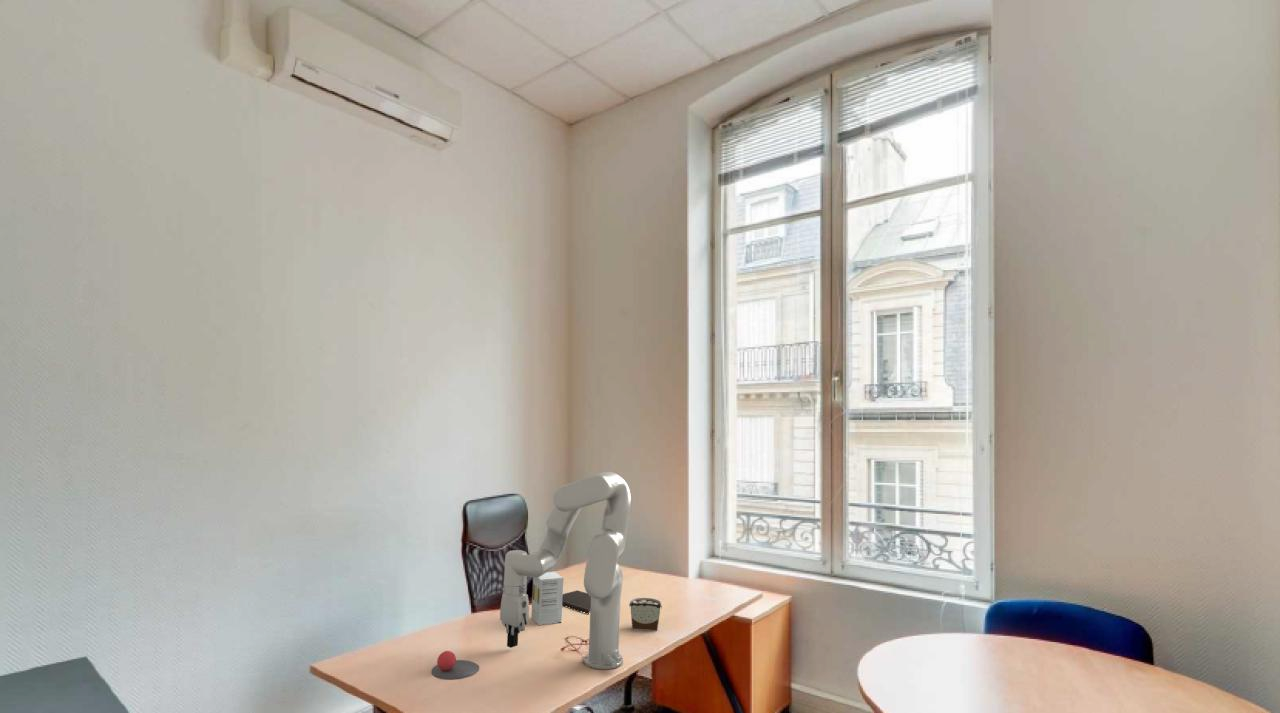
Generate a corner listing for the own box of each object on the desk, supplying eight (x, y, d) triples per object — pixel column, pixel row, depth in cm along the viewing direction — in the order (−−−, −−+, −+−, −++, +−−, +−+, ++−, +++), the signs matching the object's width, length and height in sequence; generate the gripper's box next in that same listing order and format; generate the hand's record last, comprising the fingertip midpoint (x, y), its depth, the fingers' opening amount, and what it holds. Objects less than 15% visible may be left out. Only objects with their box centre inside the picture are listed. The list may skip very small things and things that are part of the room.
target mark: (485, 673, 193) (485, 673, 193) (438, 682, 186) (438, 682, 186) (471, 657, 205) (471, 657, 205) (426, 665, 198) (426, 665, 198)
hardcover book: (577, 595, 280) (577, 590, 280) (616, 607, 265) (616, 601, 265) (549, 603, 267) (549, 597, 268) (588, 616, 252) (588, 610, 253)
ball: (445, 657, 191) (447, 675, 192) (459, 649, 196) (460, 667, 196) (432, 654, 194) (433, 672, 194) (445, 646, 199) (447, 663, 199)
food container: (662, 625, 242) (663, 598, 243) (661, 631, 236) (662, 603, 237) (629, 623, 243) (630, 596, 244) (628, 629, 237) (629, 601, 238)
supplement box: (530, 618, 246) (532, 573, 247) (553, 615, 250) (555, 571, 251) (538, 626, 237) (540, 579, 239) (562, 623, 241) (564, 577, 243)
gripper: (538, 591, 212) (536, 649, 211) (509, 582, 222) (506, 637, 220) (521, 596, 206) (518, 655, 205) (491, 586, 216) (488, 643, 214)
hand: (512, 646), depth 212 cm, fingers closed
